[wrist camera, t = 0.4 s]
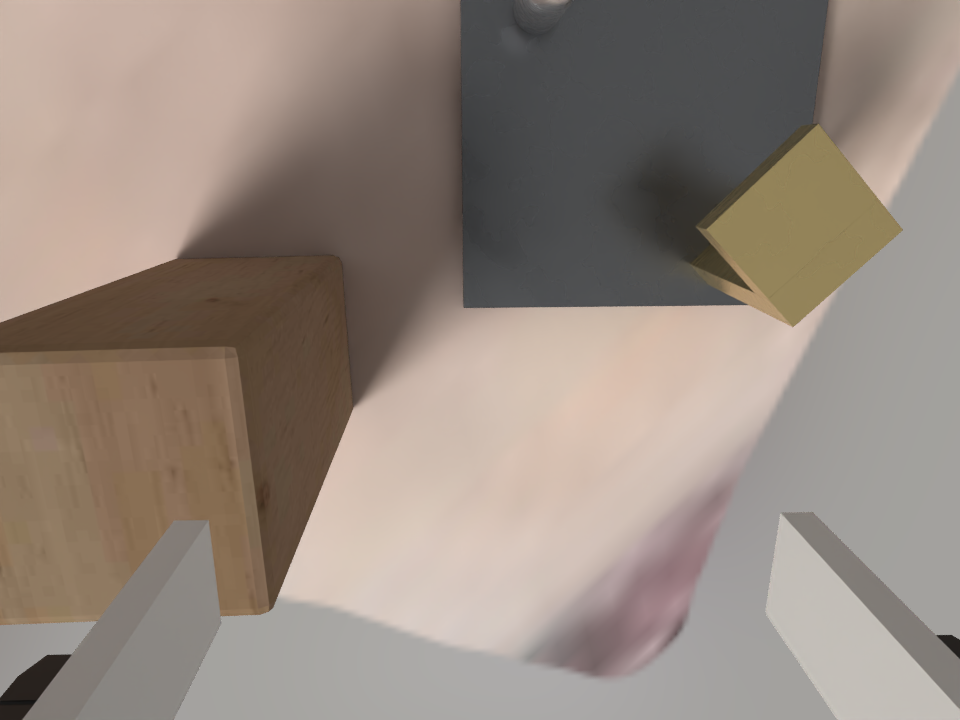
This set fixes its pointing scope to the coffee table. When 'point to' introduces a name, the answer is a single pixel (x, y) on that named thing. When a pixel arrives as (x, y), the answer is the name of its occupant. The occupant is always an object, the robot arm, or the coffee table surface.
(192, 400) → the wooden block
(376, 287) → the coffee table surface
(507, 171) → the plate
